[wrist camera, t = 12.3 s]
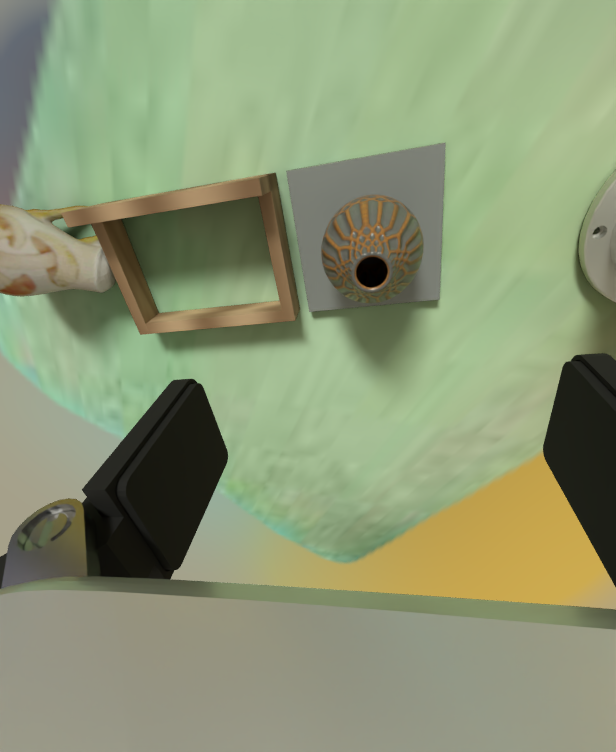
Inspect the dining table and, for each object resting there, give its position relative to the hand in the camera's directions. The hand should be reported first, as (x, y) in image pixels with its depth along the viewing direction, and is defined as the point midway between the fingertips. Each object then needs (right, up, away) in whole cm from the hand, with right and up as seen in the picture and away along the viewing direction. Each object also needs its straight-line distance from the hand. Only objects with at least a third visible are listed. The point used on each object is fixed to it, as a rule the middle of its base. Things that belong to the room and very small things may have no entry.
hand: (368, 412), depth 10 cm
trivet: (+3, +12, +19) cm, 23 cm away
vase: (+3, +12, +18) cm, 22 cm away
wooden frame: (-11, +11, +22) cm, 27 cm away
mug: (-23, +13, +23) cm, 35 cm away
